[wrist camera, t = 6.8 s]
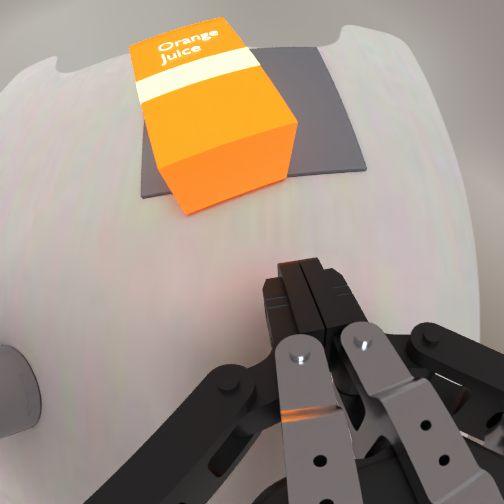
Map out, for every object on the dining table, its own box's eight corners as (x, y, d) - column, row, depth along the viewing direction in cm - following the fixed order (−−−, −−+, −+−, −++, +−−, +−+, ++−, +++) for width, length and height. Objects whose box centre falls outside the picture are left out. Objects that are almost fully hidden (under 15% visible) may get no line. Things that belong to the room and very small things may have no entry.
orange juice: (299, 120, 16) (207, -3, 20) (155, 168, 15) (123, 23, 20) (286, 178, 24) (214, 48, 28) (185, 216, 23) (142, 72, 27)
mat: (142, 198, 24) (140, 196, 23) (151, 68, 28) (150, 65, 28) (365, 171, 24) (367, 168, 24) (315, 50, 29) (316, 47, 28)
